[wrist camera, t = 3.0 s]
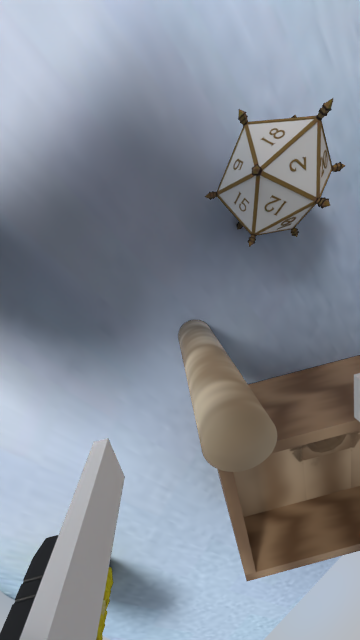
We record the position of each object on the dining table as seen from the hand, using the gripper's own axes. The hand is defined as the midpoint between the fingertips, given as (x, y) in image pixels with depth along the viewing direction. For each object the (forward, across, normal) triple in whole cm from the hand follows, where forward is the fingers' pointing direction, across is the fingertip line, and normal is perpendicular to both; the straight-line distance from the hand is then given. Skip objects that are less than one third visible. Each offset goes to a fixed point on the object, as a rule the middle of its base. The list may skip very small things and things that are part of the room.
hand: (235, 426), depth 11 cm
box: (+13, +12, -16) cm, 24 cm away
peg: (+13, 0, 0) cm, 13 cm away
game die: (+13, +8, +12) cm, 20 cm away
